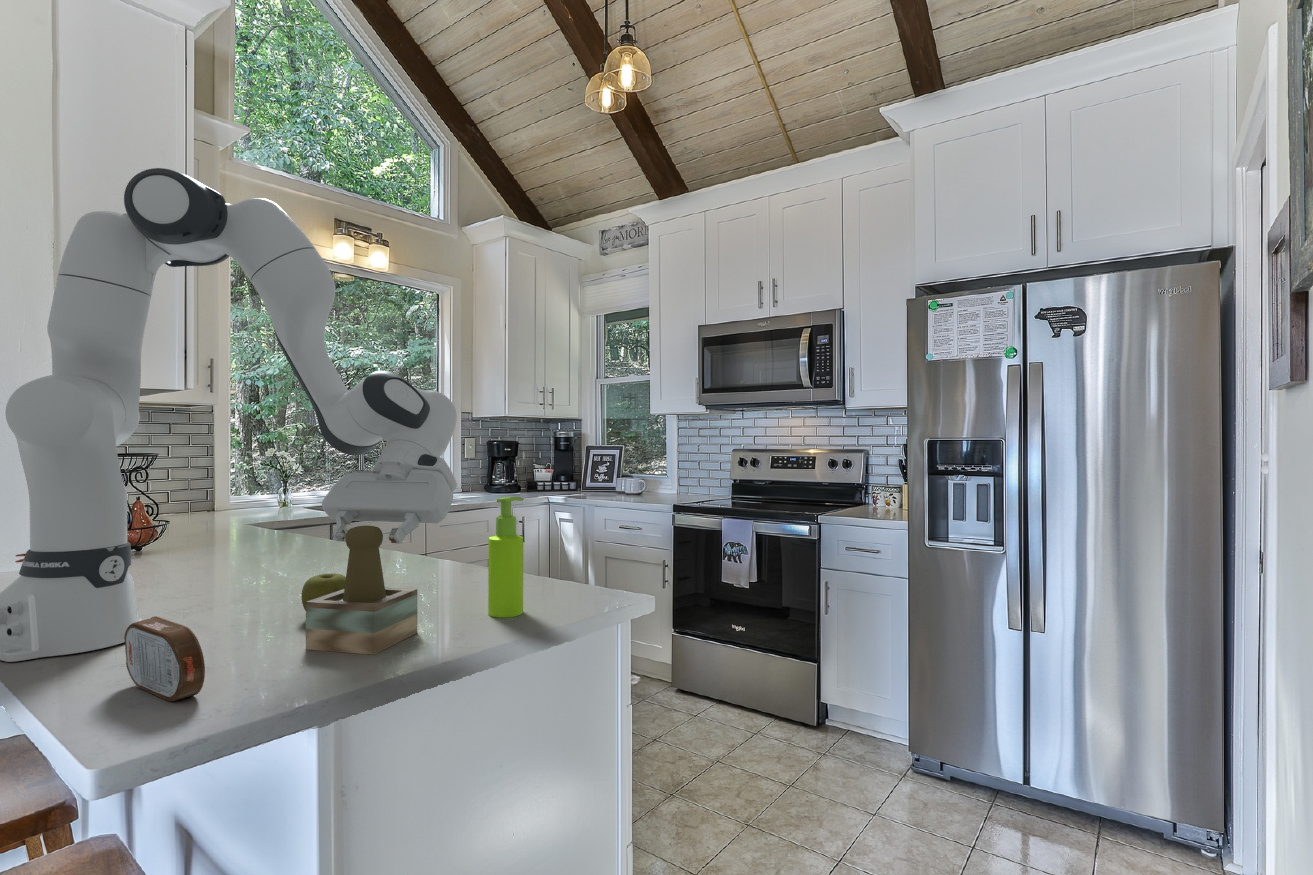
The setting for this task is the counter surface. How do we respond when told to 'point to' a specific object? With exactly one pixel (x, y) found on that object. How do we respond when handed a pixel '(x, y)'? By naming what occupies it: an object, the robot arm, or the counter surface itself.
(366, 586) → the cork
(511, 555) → the soap dispenser
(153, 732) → the counter surface
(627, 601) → the counter surface
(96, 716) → the counter surface
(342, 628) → the brown wooden square box
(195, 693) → the tin
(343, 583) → the apple
